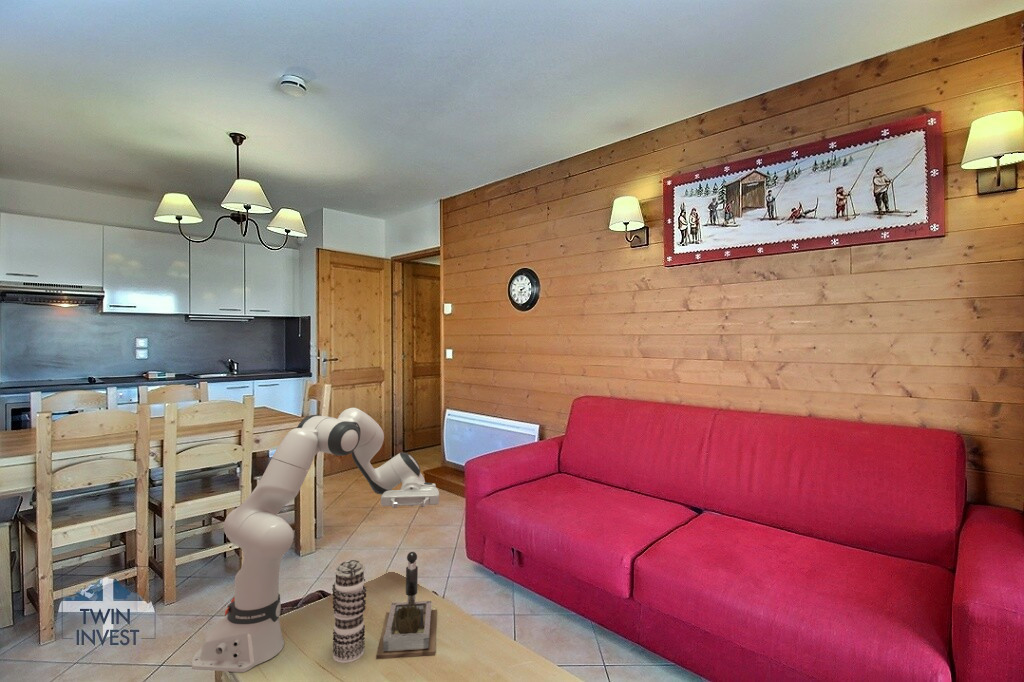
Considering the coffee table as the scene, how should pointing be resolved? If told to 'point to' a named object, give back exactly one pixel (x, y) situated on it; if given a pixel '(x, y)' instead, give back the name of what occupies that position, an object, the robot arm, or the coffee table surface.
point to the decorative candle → (349, 612)
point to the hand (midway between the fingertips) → (408, 505)
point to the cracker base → (410, 653)
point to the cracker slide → (410, 639)
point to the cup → (408, 619)
